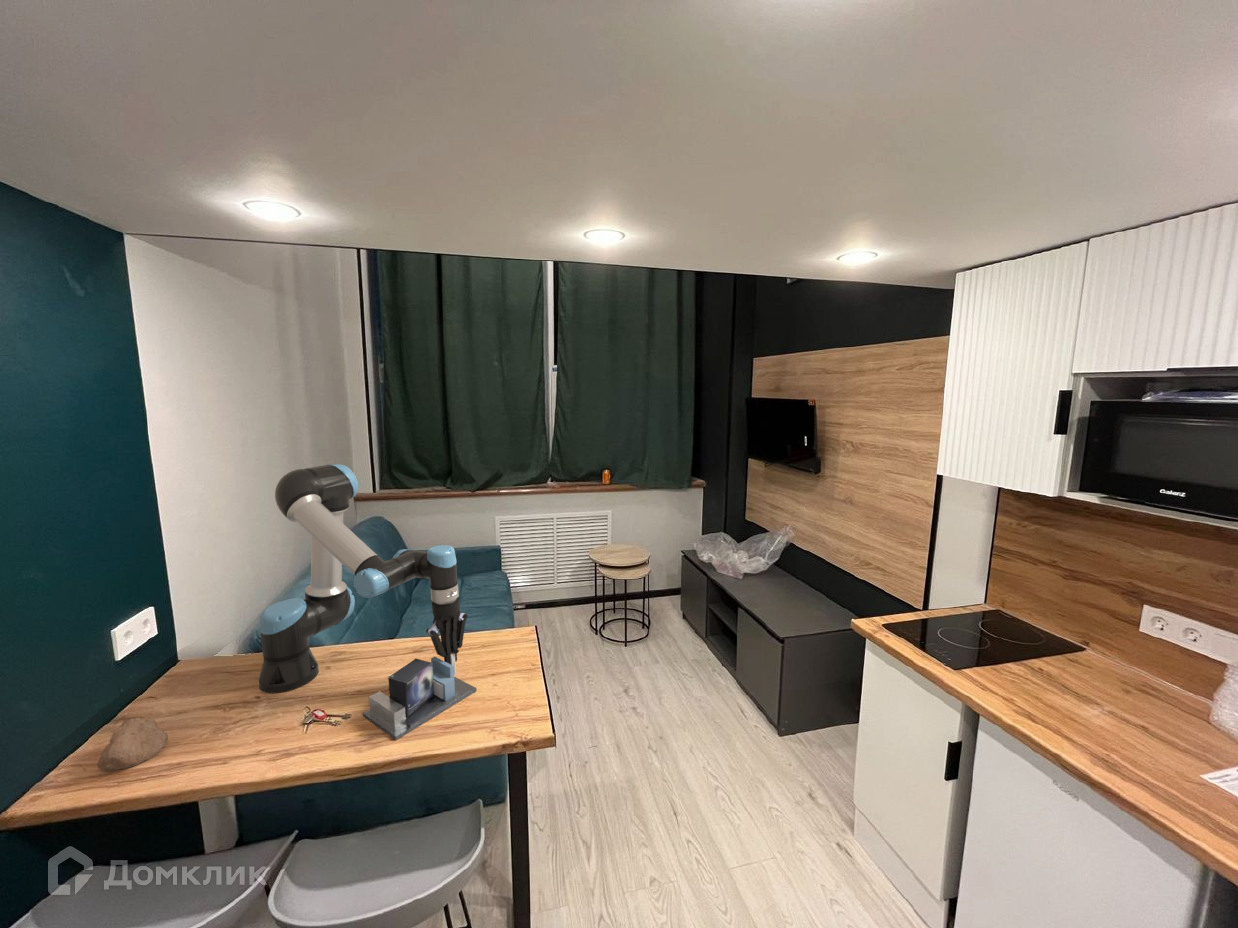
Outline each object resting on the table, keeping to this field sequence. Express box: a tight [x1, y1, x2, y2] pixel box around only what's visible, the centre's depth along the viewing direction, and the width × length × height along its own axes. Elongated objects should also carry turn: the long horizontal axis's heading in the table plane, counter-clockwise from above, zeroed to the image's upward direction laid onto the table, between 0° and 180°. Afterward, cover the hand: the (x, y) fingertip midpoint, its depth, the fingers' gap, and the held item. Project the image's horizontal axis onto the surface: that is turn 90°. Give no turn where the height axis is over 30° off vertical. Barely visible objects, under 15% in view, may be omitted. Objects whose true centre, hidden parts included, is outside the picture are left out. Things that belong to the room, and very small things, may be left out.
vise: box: [362, 676, 477, 741], centre depth 137 cm, size 16×25×6 cm, turn 145°
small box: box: [387, 658, 434, 718], centre depth 135 cm, size 11×6×10 cm, turn 160°
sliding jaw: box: [430, 656, 455, 701], centre depth 141 cm, size 12×5×8 cm, turn 55°
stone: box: [96, 717, 169, 773], centre depth 117 cm, size 12×9×10 cm
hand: (451, 673), depth 145 cm, fingers closed
